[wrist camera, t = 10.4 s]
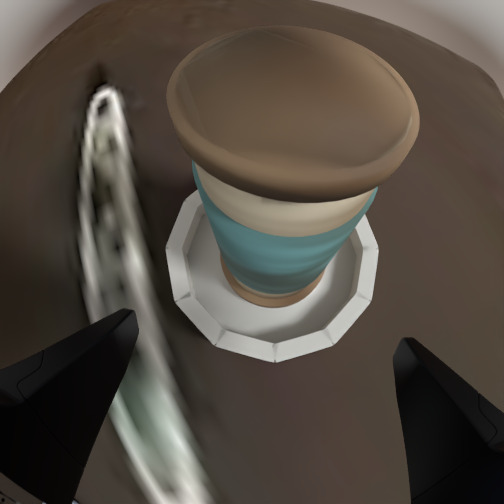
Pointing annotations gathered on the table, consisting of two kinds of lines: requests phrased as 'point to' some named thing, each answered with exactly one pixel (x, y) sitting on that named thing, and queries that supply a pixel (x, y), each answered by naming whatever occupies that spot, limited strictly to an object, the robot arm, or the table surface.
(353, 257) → the ceramic dish
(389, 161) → the disc
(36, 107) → the table surface
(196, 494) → the table surface
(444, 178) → the table surface
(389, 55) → the table surface
